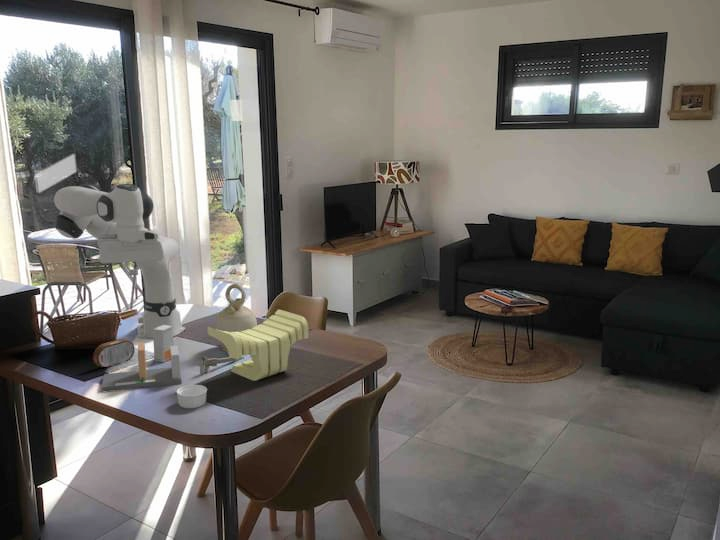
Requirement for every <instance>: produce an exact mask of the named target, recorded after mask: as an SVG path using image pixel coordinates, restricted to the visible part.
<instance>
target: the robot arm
mask: <svg viewBox="0 0 720 540" xmlns="http://www.w3.org/2000/svg"><path fill="white" fill-rule="evenodd" d="M53 202H54V205H55V207H56V208H57V209H58V210H59V214H58V215H56V216H55V217H56V219H55V221H54V227H55V230H56V231H57V232H58V233H59V234H60V235H62V236H63V237H65V238H68V239H73V240H75V239H79V238H80V237H81V236H82V235H83V234H84V231H85V230H86V232H87V233H88V234H89V235H90V236H92V237H94V238H95V239H97V242H96V243H97V247H98V249H99V254H98V255H99V257H98V259H99V262H100V263H101V264H119V263H121V264H122V263H124V267H125V269H126V270H127V271H128V276H138V275H139V269H140V272H141V274H142V278H143V283H144V290H145V291H144V293H145V301H144V311H143V313H142V314H141V317H138V318H137V323H138V325H137V326H136V331H137V336H138V338H146V339H147V338H148V339H153V329H155V328H157V327H159V326H162V325H168V326H173V337H175V336H178V335H179V334H180V333H182V332H184V330H185V331H186V327H185V326H182V319H181V311H179V310H178V309H177V301H176V298H175V286H174V285H175V283H174V279H173V278H172V277H171V272H170V270H169V267H168V265H169V263H171V262H173V261H174V260H175V259H176V258H177V256H178V254H179V250H180V248H179V245H178V242H177V241H176V240H175V239H174V238H172V237H168V236H163V235H160V234H159V231H157V230H154V229H150V228H146V227H145V223H144V221H146V220H148V219H149V217H151V214H152V213H153V212H154V211H153V210H154V202H153V200H152V198H151V196H150V195H149V194H148V193H147V192H146V191H144V190H141V189H140V188H139V186H137V185H135V184H130V183H129V184H128V183H120V184H117V185H115V186H114V188H113V190H112V191H110V192H108V191H107V192H106V191H101V190H100V189H98V188H97V187H96V186H94V185H91V184H87V183H81V184H79V185H78V186H76V185H75V186H74V185H73V186H71V185H70V186H65V187H62V188H60V189H58V190H57V191H56V192H55V195H54V198H53ZM130 263H135V264H136V267H135V268H134V269H133V268H131V267H130Z"/></svg>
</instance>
